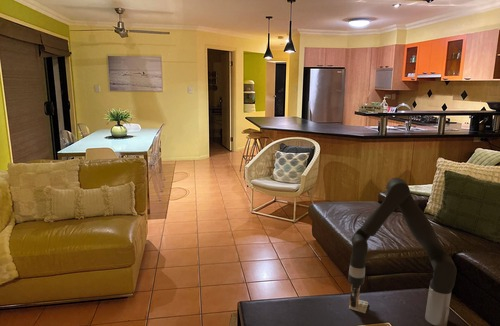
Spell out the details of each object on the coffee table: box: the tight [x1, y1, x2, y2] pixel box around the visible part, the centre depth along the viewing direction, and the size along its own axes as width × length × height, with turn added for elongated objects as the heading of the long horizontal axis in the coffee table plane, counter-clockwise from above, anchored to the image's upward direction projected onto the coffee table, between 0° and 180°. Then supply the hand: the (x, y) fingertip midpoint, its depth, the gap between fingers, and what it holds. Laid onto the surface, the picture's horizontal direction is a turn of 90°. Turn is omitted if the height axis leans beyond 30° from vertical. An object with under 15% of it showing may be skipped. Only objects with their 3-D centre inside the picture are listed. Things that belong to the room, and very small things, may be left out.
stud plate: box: [348, 299, 369, 314], centre depth 182 cm, size 8×8×2 cm
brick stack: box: [348, 291, 361, 307], centre depth 180 cm, size 4×4×6 cm
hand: (354, 303), depth 181 cm, fingers closed on brick stack, 4 cm apart
